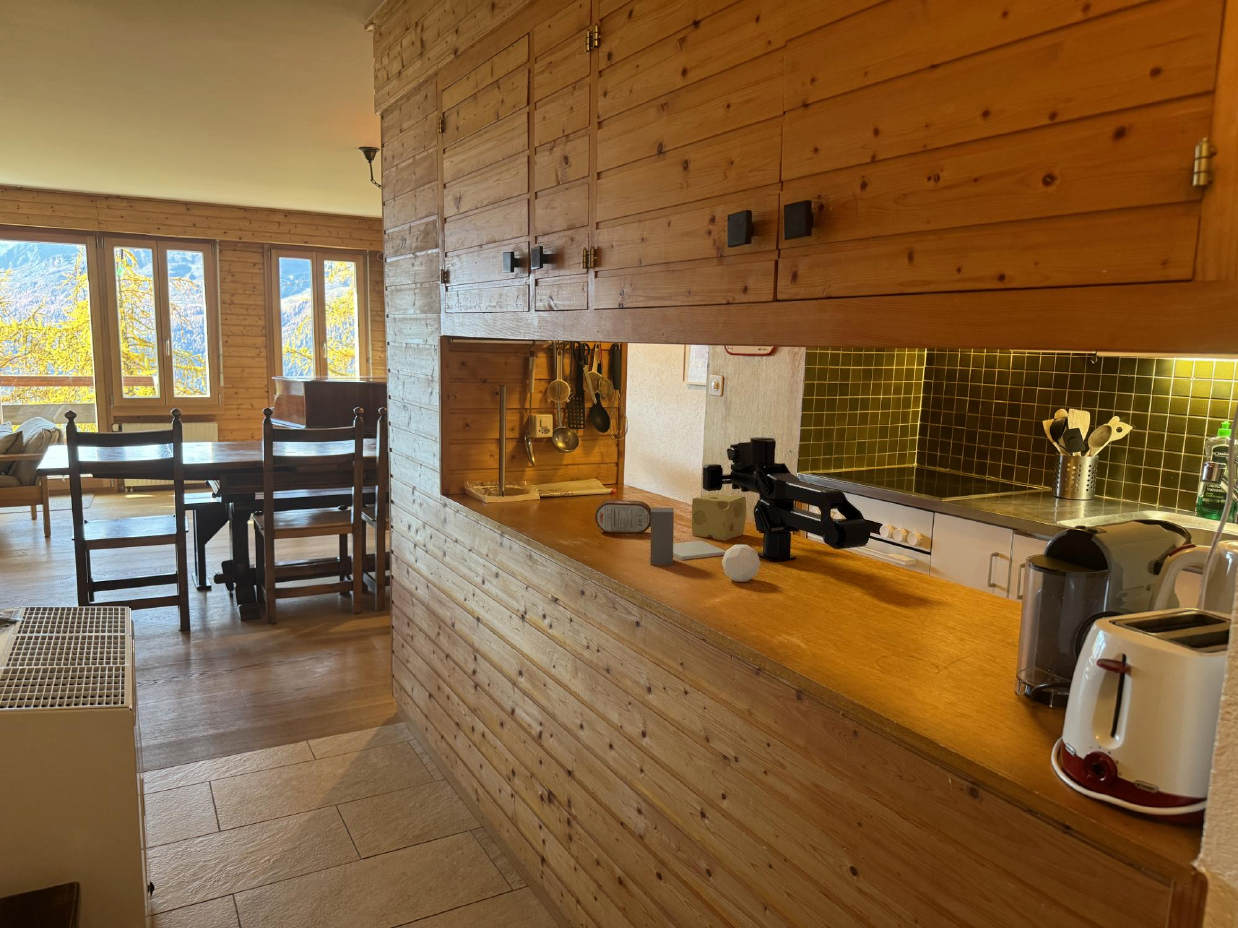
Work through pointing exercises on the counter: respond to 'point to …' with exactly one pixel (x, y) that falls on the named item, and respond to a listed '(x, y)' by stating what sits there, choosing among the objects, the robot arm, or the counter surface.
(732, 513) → the cheese
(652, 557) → the block
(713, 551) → the tile
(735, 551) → the ball
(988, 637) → the counter surface
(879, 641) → the counter surface
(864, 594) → the counter surface
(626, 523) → the tin
